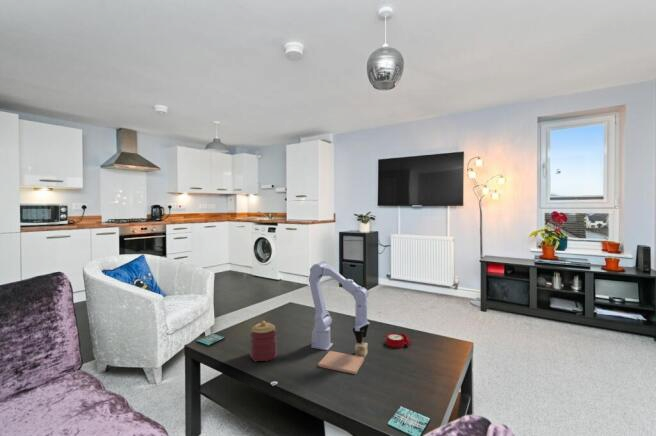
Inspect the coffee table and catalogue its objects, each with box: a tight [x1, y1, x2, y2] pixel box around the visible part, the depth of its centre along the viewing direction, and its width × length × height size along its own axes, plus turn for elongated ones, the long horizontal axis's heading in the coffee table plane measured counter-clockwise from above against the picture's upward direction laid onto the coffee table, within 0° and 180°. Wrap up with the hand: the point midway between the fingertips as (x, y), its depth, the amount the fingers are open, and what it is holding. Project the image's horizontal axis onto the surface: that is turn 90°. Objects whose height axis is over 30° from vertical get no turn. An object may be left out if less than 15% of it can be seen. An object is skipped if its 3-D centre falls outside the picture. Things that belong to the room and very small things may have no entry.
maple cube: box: [354, 341, 369, 358], centre depth 154 cm, size 5×5×5 cm
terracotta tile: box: [317, 350, 365, 375], centre depth 146 cm, size 18×14×1 cm
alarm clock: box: [383, 332, 414, 349], centre depth 166 cm, size 10×6×15 cm
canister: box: [249, 320, 278, 362], centre depth 153 cm, size 13×13×18 cm
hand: (361, 340), depth 154 cm, fingers open, 7 cm apart
